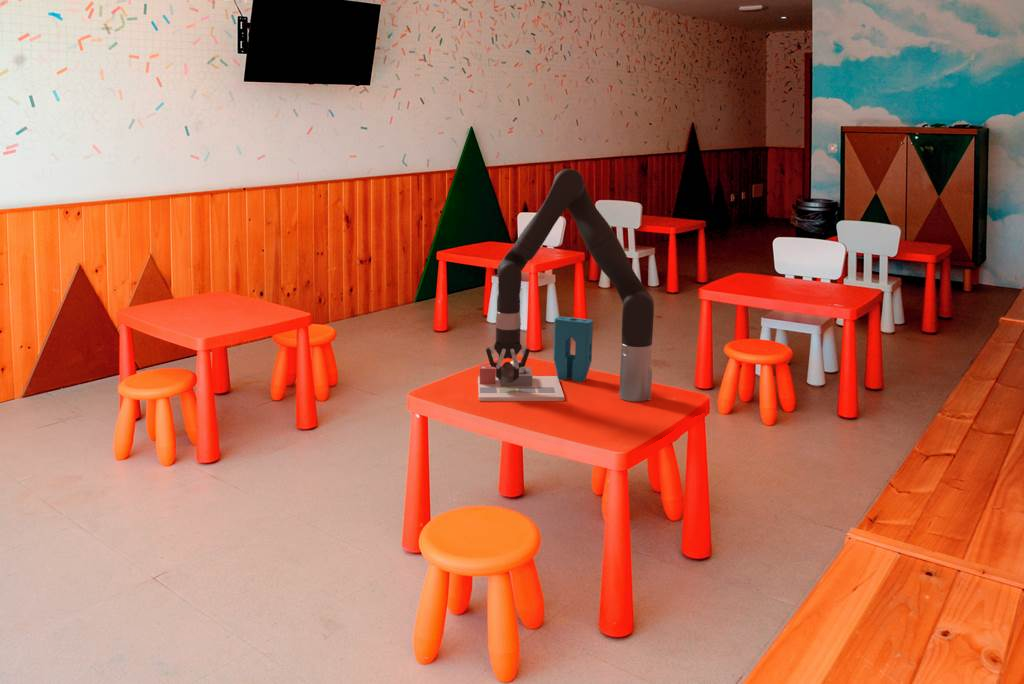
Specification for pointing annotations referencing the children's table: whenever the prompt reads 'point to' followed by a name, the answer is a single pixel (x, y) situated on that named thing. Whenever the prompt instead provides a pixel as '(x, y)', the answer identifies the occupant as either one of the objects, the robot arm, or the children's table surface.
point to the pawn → (507, 372)
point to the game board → (523, 390)
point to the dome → (521, 369)
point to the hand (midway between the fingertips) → (507, 379)
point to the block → (563, 359)
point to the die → (487, 374)
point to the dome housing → (521, 379)
